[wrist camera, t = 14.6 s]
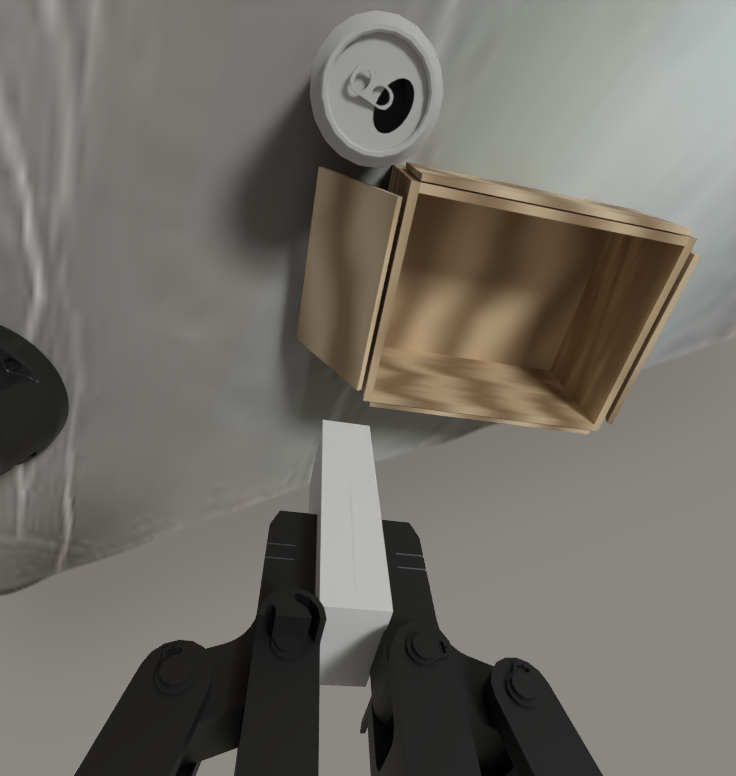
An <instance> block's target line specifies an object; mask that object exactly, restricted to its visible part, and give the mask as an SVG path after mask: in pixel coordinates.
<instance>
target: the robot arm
mask: <svg viewBox="0 0 736 776" xmlns="http://www.w3.org/2000/svg"><path fill="white" fill-rule="evenodd" d="M67 416H68V397H67V392H66V389H65V386H64V384H63V381H62V379H61V377H60V375H59V374H58V372H57V371H56V369H55V368H54V366H53V365H52V364H51V362H50V361H49V360H48V359H47V358H46V357H45V356H44V355H43V354H42V353H41V352H40V351H39V350H38V349H37V348H36V347H35V346H34V345H32V344H31V343H30V342H28V341H27V340H26V339H24V338H23V337H21V336H20V335H18V334H16V333H15V332H13V331H11V330H9V329H7V328H5V327H3V326H1V325H0V475H2V474H4V473H6V472H7V471H9V470H11V469H12V468H13V467H15V466H16V465H19V464H22V463H24V462H26V461H29V460H31V459H32V458H34V457H36V456H37V455H39V454H40V453H41V452H43V451H44V450H45V449H46V448H47V447H48V446H49V445H50V444H51V443H52V441H53V440H54V439H55V438H56V437H57V435H58V434H59V433H60V432H61V430H62V429H63V427H64V425H65V423H66V420H67ZM425 569H426V567H425V563H424V558H423V553H422V549H421V544H420V539H419V537H418V535H417V534H416V533H415V531H414V529H413V528H412V526H411V525H410V523H407V522H397V521H387V520H381V512H380V504H379V497H378V489H377V481H376V473H375V466H374V458H373V450H372V442H371V434H370V426H366V425H359V424H351V423H344V422H336V421H329V420H323V422H322V427H321V432H320V437H319V442H318V447H317V452H316V457H315V462H314V467H313V472H312V477H311V482H310V494H309V514H308V513H298V512H288V511H279V513H278V514H277V516H276V517H275V518H274V520H273V521H272V522H271V524H270V527H269V534H268V540H267V547H266V554H265V560H264V567H263V574H262V581H261V588H260V595H259V602H258V609H257V615H256V619H255V620H254V622H253V624H252V625H251V627H250V628H249V629H248V630H247V631H246V632H245V633H244V634H243V635H242V636H240V637H238V638H237V639H235V640H233V641H231V642H228V643H225V644H222V645H218V646H214V647H211V648H207V649H205V648H204V647H202V646H201V645H199V644H197V643H195V642H193V641H184V640H177V641H173V642H169V643H165V644H163V645H162V646H160V647H159V648H157V649H155V650H154V651H152V652H151V653H150V654H149V655H148V656H147V658H146V659H145V660H144V661H143V662H142V664H141V665H140V667H139V668H138V670H137V672H136V673H135V675H134V677H133V678H132V680H131V682H130V683H129V685H128V687H127V688H126V690H125V692H124V693H123V695H122V697H121V699H120V700H119V702H118V703H117V705H116V707H115V708H114V710H113V712H112V713H111V715H110V717H109V718H108V720H107V722H106V723H105V725H104V727H103V729H102V730H101V732H100V733H99V735H98V737H97V738H96V740H95V742H94V743H93V745H92V747H91V748H90V750H89V752H88V754H87V755H86V757H85V759H84V760H83V762H82V764H81V765H80V767H79V768H78V770H77V772H76V773H75V775H74V776H196V773H197V771H198V768H199V766H200V763H201V761H202V760H205V759H208V758H210V757H213V756H216V755H219V754H221V753H224V752H227V751H230V750H232V749H235V748H238V750H237V758H236V765H235V772H234V776H318V757H319V755H318V753H319V752H318V751H319V685H339V686H363V687H365V686H366V684H367V681H368V679H369V675H370V678H371V691H372V696H371V699H370V701H369V704H368V707H367V709H366V712H365V714H364V717H363V719H362V722H361V730H360V733H365V732H366V730H367V727H368V737H369V754H370V770H371V776H603V775H602V773H601V772H600V770H599V768H598V767H597V765H596V763H595V761H594V760H593V758H592V756H591V755H590V753H589V751H588V749H587V748H586V746H585V744H584V743H583V741H582V739H581V738H580V736H579V734H578V733H577V731H576V729H575V728H574V726H573V724H572V722H571V721H570V719H569V717H568V716H567V714H566V712H565V711H564V709H563V707H562V705H561V704H560V702H559V700H558V699H557V697H556V695H555V694H554V692H553V691H552V688H551V687H550V685H549V684H548V682H547V681H546V679H545V678H544V677H543V675H542V674H541V673H540V672H539V671H538V670H537V669H536V668H534V667H533V666H532V665H530V664H529V663H528V662H525V661H523V660H520V659H518V658H504V659H502V660H500V661H498V662H496V664H495V666H491V665H489V664H486V663H484V662H481V661H479V660H476V659H474V658H471V657H469V656H466V655H465V654H462V653H461V652H459V651H458V650H457V649H455V648H454V647H453V646H451V644H450V642H449V640H448V639H447V638H446V637H445V636H444V634H443V633H442V632H441V631H440V629H439V626H438V623H437V620H436V616H435V611H434V605H433V602H432V596H431V592H430V586H429V582H428V577H427V572H426V571H425Z"/></svg>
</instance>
